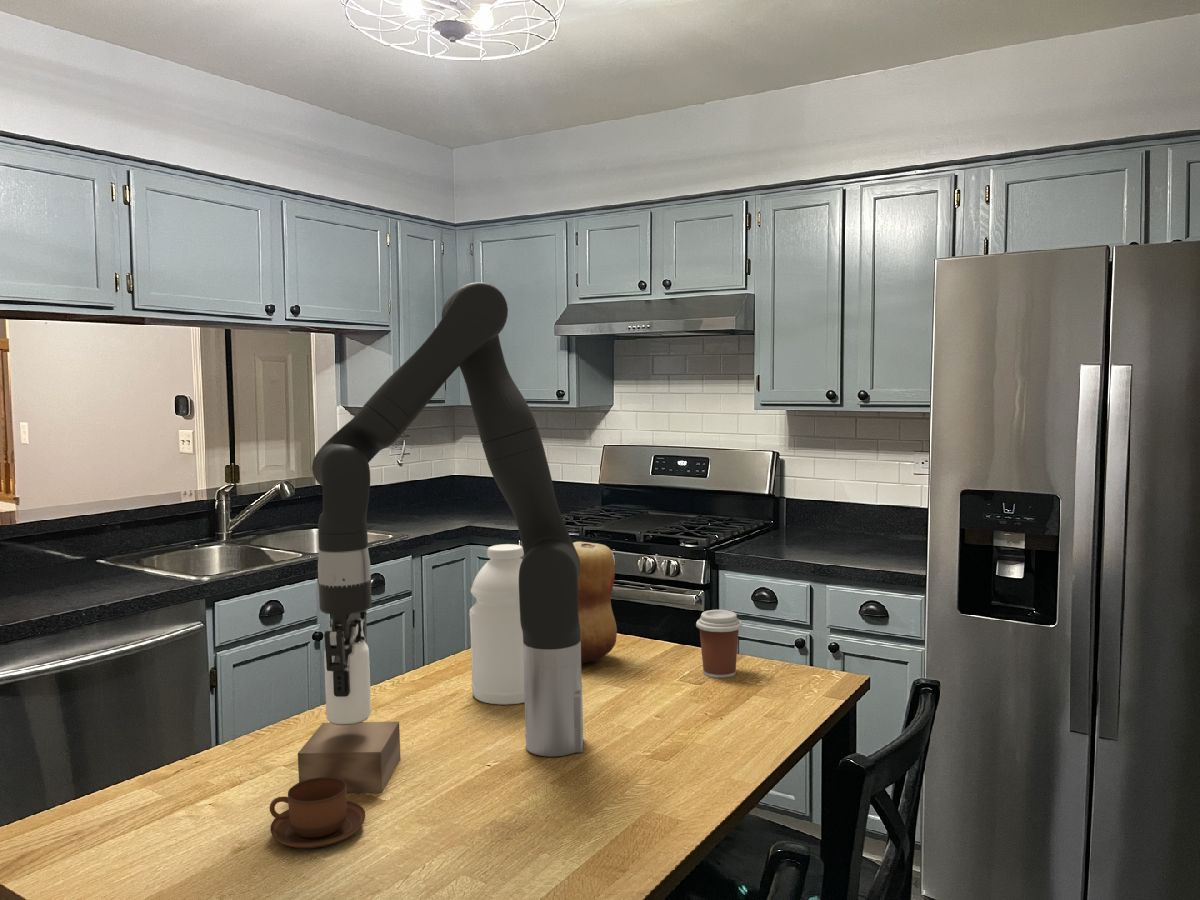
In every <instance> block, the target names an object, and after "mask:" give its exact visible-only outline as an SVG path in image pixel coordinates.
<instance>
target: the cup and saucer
mask: <svg viewBox="0 0 1200 900" xmlns="http://www.w3.org/2000/svg"><path fill="white" fill-rule="evenodd" d="M278 803H285V804H287V805H288V809H286V810H285V811H283V812H282V813H278V812H277V811H276V808H275V807H276V806H277V804H278ZM269 812H270V814H271V816H272V817H273V818H274V819H273V821H272V823H271V824H270V826H269V827H270V828H269V830H270V833H271V836H272V838H273V839H274V840H275V841H277V842H279V843H280V844H282V845H285V846H287V847H289V848H290V847H292V848H295V849H315V848H322V847H327V846H331V845H334V844H336V843H339V842H342V841H343V840H345V839H348V838H349V837H351V836H352V835H354V834H355V833H356V832H357V831H358V830H359V829H360V828H361V827H362V826H363V824H364V823H365V820H366V811H365V809H364V808H363V807H362V806H361V805H360V804H358V803H356V802H353V801H350V800H347V793H346V783H345V782H344V781H343V780H341V779H338V778H333V777H319V778H313V779H308V780H305V781H302V782H300V783H299V782H298V783H296V784H294V785H293V786H291V787H289V789H288V791H287V796H278V797H275V798H274V799H272V800H271V802H270V805H269Z"/></svg>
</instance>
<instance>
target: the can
mask: <svg viewBox="0 0 1200 900" xmlns="http://www.w3.org/2000/svg"><path fill="white" fill-rule="evenodd" d="M365 639H366V638H365V637H363V636H362V638H361V639H359V638H358V637H357V640H356V641H355V644H354V645H355V649H354V654H353V655H351V656H350V669H349V675H350V694H349V695H348V696H346V697H336V696H335V695H334V686H333V672H331V671H327V668H326V666H327V665H326V651H325V650H324V654H323V656H324V657H323V658H324V663H323V664H324V684H325V685H324V686H325V687H324V688H325V690H324V691H325V711H326V720H327V721H328V723H332V724H335V725H353V724H357V723H361V722H366V721H367V720H368V719H369V718H370V716H371V713H372V707H371V706H372V704H371V703H372V702H371V673H370V672H371V671H370V667H371V666H370V651H369V650H370V649H369V645H368V643H367V644H366V642H365ZM347 648H349V645H345V649H347ZM336 662H340V657H339V656H336Z"/></svg>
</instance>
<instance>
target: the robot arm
mask: <svg viewBox="0 0 1200 900" xmlns="http://www.w3.org/2000/svg"><path fill="white" fill-rule="evenodd" d="M508 313H509V308H508V303H507V300H506V297H505V296H504V295H503V292H501V291H500V289H498V288H497V286H496V287H495V286H494V285H492V284H490V283H487V282H483V281H482V282H481V281H477V282H470V283H467V284H465V285H462V286H461V287H459V288H458V289H457V290H456V291H455V292H454V293H453V294H451V295H450V296H449V298H448V299H447V300H446V302H445V303H444V306H443V308H442V311H441V319H440V321H439V322H438V324H437V325H436V327H435V328H434V330H433V331H432V333H431V334H430V335H429V336H428V337H427V339H426V340H425V341H423V343H422V344H421V345H420V346H419V348H418V349H417V350H416V351H415V352H414V353H413V354H412V355H411V356H410V357H408V359H406V361H405V362H404V363H403V364H401V365H400V366H399V368H397V370H395V372H394V373H393V374H391V375H390V376H389V377H388V378H387V379H386V380H385V382H384V383H383V384H381V385H380V387H379V388H377V390H376V391H375V392H374V393H373V394H372V395H371V397H370V398H369V399H368V400H367V401H366V402H365V404H364V405H363V406H362V407H361V408H360V410H358V412H357V413H356V415H354V416H353V418H352V419H351V420H350V421H348V422H346V424H345V425H344V426H342V427H341V428H339V430H338V431H336V433H334V434H333V435H332V436H331V437H330V438H329V439H328V440H327V441H326V442H325V443H324V444H323V445H322V446H321V447H320V448H319V450H318V451H317V452H316V454H315V456H314V457H313V460H312V464H311V465H312V466H311V468H312V469H311V471H312V475H313V478H314V479H315V481H316V482H317V483H318V485H320V486H321V487H322V512H321V513H320V514H319V515H318V516H319V517H318V526H317V529H318V530H317V533H318V558H317V559H318V560H317V578H318V602H319V603H318V605H319V607H318V608H319V611H320V612H321V613H324V614H326V615H327V614H328V615H330V616H331V617H332V619H331V624H330V625H329V630H326V631H325V632H324V634H323V635H324V636H323V637H324V648H325V649H324V652H325V651H326V665H327V666H326V668H327V671H331V672H333V686H334V695H335V696H336V697H346V696H348V695H349V694H350V675H349V669H350V656H351V655H353V654H354V649H355V645H354V644H355V641H356V640H357V637H358V638H359V639H361V638H362V636H363V637H365V638H366V639H365V642H366V644H367V645H368V639H367V638H368V637H367V636H368V635H367V630H368V629H367V628H368V627H367V615H368V614H367V613H368V612H367V610H369V609H370V608H371V607H372V605H373V603H372V601H373V600H372V578H371V577H372V575H371V558H370V554H369V553H370V552H369V542H368V541H369V540H368V539H369V537H368V523H367V522H368V520H367V513H368V507H369V499H370V491H371V490H370V489H371V468H370V462H371V461H372V459H374V458H375V456H376V455H378V453H380V452H381V451H382V450H385V449H387V448H390V447H391V446H392V445H393V444H394V443H395V442H396V441H397V440H398V439H399V438H400V436H402V435H403V434H404V432H405V431H406V430H407V429H408V427H409V426H410V425H411V424H412V423H413V422H414V421H415V420H416V418H417V417H418V416H419V414H420V413H421V412H422V411H423V410H424V408H425V407H426V406H427V404H429V402H430V401H431V400H432V398H433V397H434V396H435V395H436V393H437V392H438V391H439V389H440V388H441V387H442V386H443V384H444V383H446V381H447V380H448V379H449V378H450V376H452V375H453V374H454V372H455V371H456V370H457V369H458V368H459V369H460V372H461V374H462V376H463V379H464V382H465V386H466V389H467V393H468V398H469V402H470V405H471V410H472V414H473V417H474V421H475V423H476V427H477V431H478V435H479V438H480V442H481V445H482V448H483V452H484V455H485V458H486V461H487V464H488V467H489V470H490V473H491V474H492V477H493V480H494V481H495V484H496V485H497V487H498V489H499V491H500V493H501V494H502V496H503V499H505V501H506V503H507V504H508V506H509V508H510V510H511V511H512V515H513V517H514V520H515V522H516V525H517V526H516V527H517V529H518V532H519V536H520V541H521V546H522V547H523V552H524V555H523V558H522V559H523V560H522V562H521V565H520V569H519V604H520V623H521V628H522V632H523V658H524V698H525V702H524V725H525V727H524V729H525V730H524V732H525V733H524V736H525V749H526V750H527V751H528V752H529V753H531V754H533V755H537V756H539V757H540V756H542V757H564V756H568V755H571V754H575V753H583V749H584V715H583V714H584V707H583V703H584V702H583V699H584V698H583V683H582V682H583V681H582V664H581V628H580V623H579V615H578V578H579V575H580V570H581V564H580V559H579V556H578V554H577V551H576V549H575V547H574V544H573V543H574V542H573V541H572V538H571V536H570V533H569V531H568V529H567V527H566V524H565V521H564V519H563V516H562V514H561V512H560V508H559V505H558V503H557V502H558V501H557V499H556V493H555V489H554V484H553V479H552V476H551V471H550V467H549V462H548V459H547V455H546V451H545V450H546V449H545V447H544V444H543V440H542V438H541V434H540V431H539V428H538V425H537V422H536V419H535V416H534V414H533V412H532V410H531V407H530V406H529V404H528V403H527V400H526V399H525V398H524V396H523V394H522V393H521V391H520V389H519V388H518V386H517V385H516V383H515V381H514V380H513V378H512V376H511V374H510V372H509V370H508V367H507V365H506V364H507V363H506V360H505V357H504V353H503V349H502V345H501V342H500V336H499V335H500V334H501V332H502V331H503V329H504V327H505V326H506V323H507V319H508ZM345 645H349V648H347V649H345ZM336 656H339V657H340V662H336Z"/></svg>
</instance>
